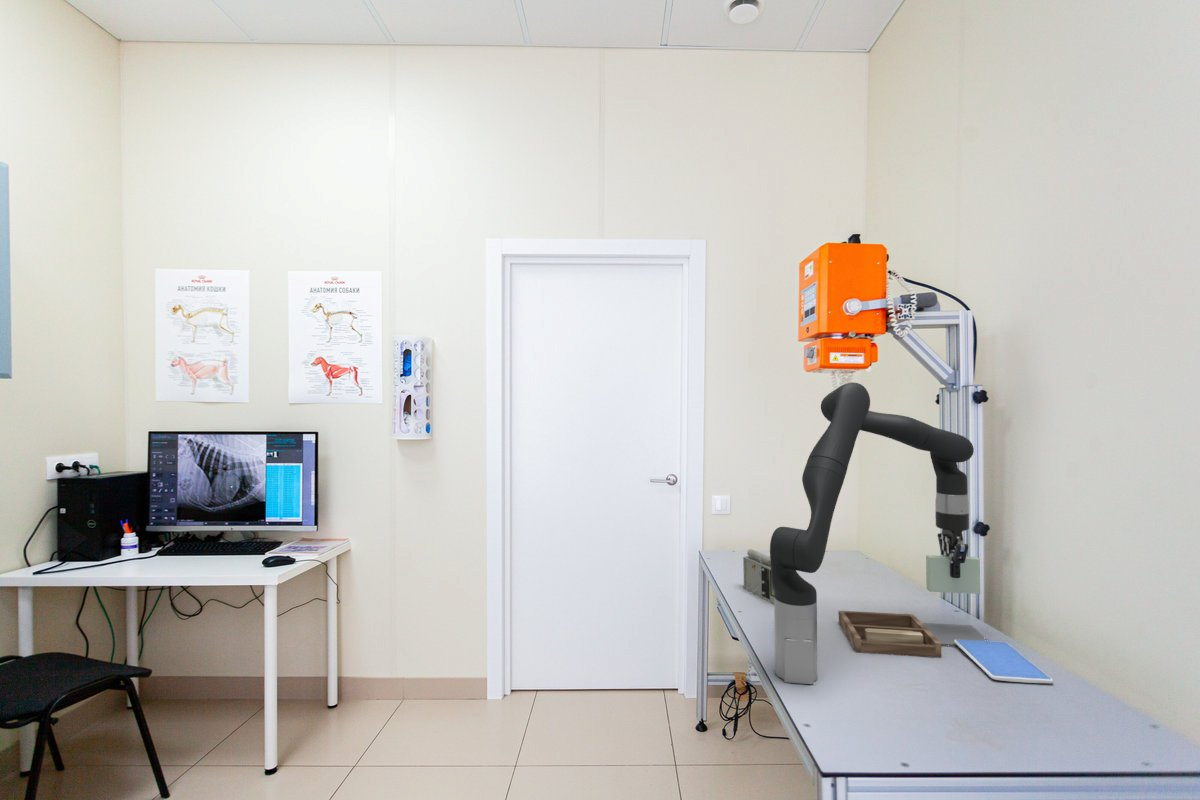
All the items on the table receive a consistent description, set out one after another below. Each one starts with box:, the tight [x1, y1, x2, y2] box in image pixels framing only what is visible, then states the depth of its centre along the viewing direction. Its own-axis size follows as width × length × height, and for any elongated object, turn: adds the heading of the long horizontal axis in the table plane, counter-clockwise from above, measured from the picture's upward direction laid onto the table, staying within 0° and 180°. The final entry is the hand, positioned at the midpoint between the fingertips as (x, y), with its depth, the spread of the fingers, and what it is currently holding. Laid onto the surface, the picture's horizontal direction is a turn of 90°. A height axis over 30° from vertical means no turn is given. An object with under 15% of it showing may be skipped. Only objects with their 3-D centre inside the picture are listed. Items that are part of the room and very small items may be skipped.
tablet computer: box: [954, 639, 1054, 684], centre depth 134 cm, size 19×13×1 cm, turn 171°
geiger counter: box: [742, 548, 774, 605], centre depth 179 cm, size 14×6×25 cm
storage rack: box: [838, 610, 942, 658], centre depth 149 cm, size 19×19×4 cm
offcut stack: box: [864, 628, 923, 644], centre depth 144 cm, size 4×13×4 cm, turn 79°
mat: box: [921, 622, 988, 647], centre depth 151 cm, size 14×14×1 cm
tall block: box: [925, 554, 981, 595], centre depth 151 cm, size 2×12×9 cm, turn 79°
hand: (952, 575), depth 151 cm, fingers closed on tall block, 2 cm apart
